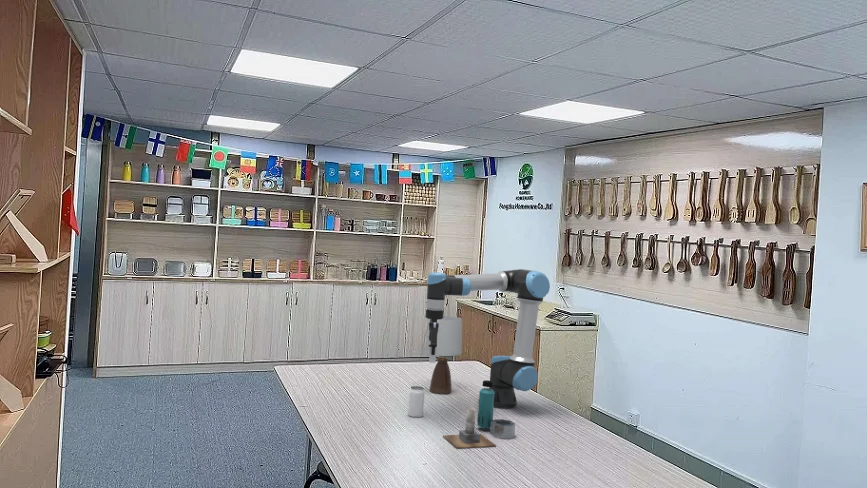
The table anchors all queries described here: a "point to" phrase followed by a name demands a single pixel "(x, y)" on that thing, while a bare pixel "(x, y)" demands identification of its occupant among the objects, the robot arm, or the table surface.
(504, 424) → the hub
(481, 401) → the beverage bottle
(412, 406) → the can
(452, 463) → the table surface
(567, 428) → the table surface
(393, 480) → the table surface
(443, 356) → the lamp
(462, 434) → the peg on square base
